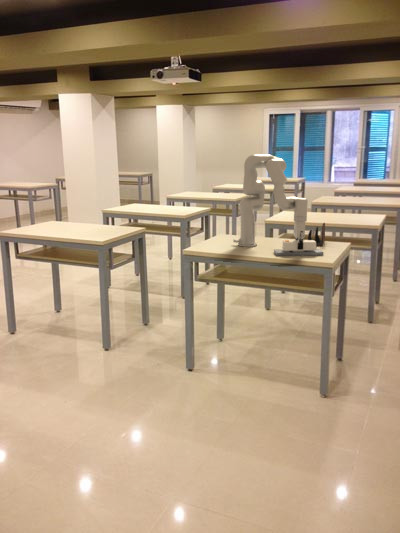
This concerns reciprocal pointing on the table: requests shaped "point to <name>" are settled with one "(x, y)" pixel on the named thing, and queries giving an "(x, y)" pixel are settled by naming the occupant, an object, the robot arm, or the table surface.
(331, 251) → the table surface
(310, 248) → the power strip
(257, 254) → the table surface
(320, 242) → the letter holder
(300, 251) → the mounting plate
